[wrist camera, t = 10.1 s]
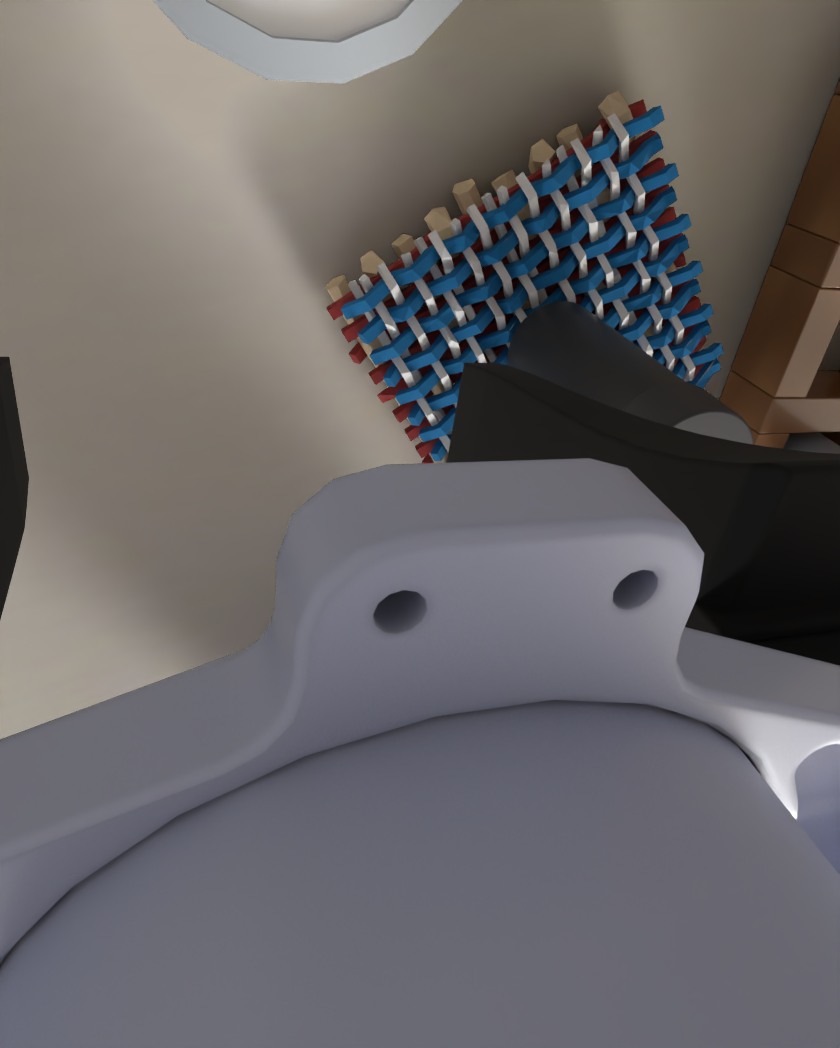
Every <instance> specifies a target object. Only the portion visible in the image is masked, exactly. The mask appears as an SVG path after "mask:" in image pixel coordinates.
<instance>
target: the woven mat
mask: <svg viewBox="0 0 840 1048" xmlns="http://www.w3.org/2000/svg"><path fill="white" fill-rule="evenodd" d="M598 108H599V110H600V112H601V113H602V115H603V117H604V118H603V119H601V120H600V122H599V123H598V124H597V126H596V127H595V128H594V130H593V131H592V132H591V134H589V135H588V136H587V137H585V138H584V139H583V136H582V134H581V131H580V129H579V126H578V124H575V125H572V126H570V127H567V128H565V129H562V130H561V132H560V133H559V134H558V135H557V136H556V137H557V139H558V142H559V144H560V147H559V148H558V149H556V152H557V155H558V157H557V158H555V151H554V150H553V149H552V148H551V147H550V146H549V145H548V144H547V143H546V142H545V141H544V140H543V139H541V140H540V141H539V142H537V143H536V144H535V145H533V146H532V147H531V152H530V160H529V170H530V173H531V175H530V176H529V177H526V175H525V174H524V172H522V173H521V174H519V175H518V176H517V177H516V175H515V174H514V172H513V170H510V171H508V172H506V173H504V174H503V175H501V176H499V177H498V178H497V179H495V180H494V181H493V182H492V183H491V184H492V186H493V188H494V190H495V191H496V193H497V195H498V196H496V197H494V198H492V195H491V193H486V194H485V195H483V196H482V197H481V196H480V194H479V192H478V190H477V187H476V185H475V183H474V181H473V179H470V180H467V181H463V182H460V183H457V184H455V185H454V189H453V195H454V197H455V199H456V201H457V203H458V206H459V208H460V210H461V212H462V214H463V216H460V217H458V218H454V219H452V220H451V218H450V216H449V214H448V212H447V210H446V208H445V207H440V208H433V209H432V210H431V211H430V213H429V214H428V215H427V216H426V217H425V218H424V219H425V221H426V223H427V225H428V227H429V228H430V231H429V232H428V233H427V234H426V235H425V236H424V237H422V236H421V237H419V238H418V239H416V240H414V239H413V237H412V236H410V235H406V234H402V235H401V236H400V237H399V238H397V239H396V240H395V241H394V242H393V243H392V244H391V245H392V247H393V249H394V251H395V253H396V254H397V256H398V258H399V260H397V261H396V262H394V263H393V264H391V265H390V266H388V267H387V266H386V265H385V263H384V262H383V261H382V260H381V259H380V258H379V257H378V256H377V255H376V254H375V253H374V252H373V251H372V250H371V251H369V252H368V253H367V254H365V255H364V256H363V257H361V265H362V272H363V275H362V276H361V277H360V279H359V281H360V283H361V285H358V284H357V282H356V280H353V281H351V282H348V280H347V279H346V277H345V275H341V276H339V277H336V278H333V279H332V280H331V281H330V282H329V283H328V284H327V285H326V286H325V287H326V289H327V291H328V292H329V294H330V296H331V297H332V299H333V301H334V303H332V304H331V305H329V306H328V307H327V310H328V312H329V313H330V315H331V316H332V318H333V320H335V319H337V318H338V317H340V316H341V315H343V317H344V319H345V320H346V322H347V324H348V325H347V326H346V327H344V328H343V329H341V331H342V333H343V335H344V336H345V338H346V339H347V341H348V342H351V341H352V340H354V339H355V338H357V340H358V341H359V342H358V343H357V344H356V346H355V347H354V348H353V349H352V350H351V352H350V353H349V355H350V357H351V359H352V360H353V362H354V363H359V364H360V363H361V362H362V361H363V360H364V359H365V358H366V356H367V355H368V357H369V358H370V360H371V361H372V363H373V365H374V366H375V369H374V370H372V371H371V372H369V375H370V377H371V378H372V380H373V381H374V383H375V384H378V383H379V382H381V381H382V380H383V381H384V382H385V384H386V385H387V387H388V388H386V389H385V390H384V391H382V392H381V393H379V394H378V395H377V396H378V397H379V399H380V400H381V401H382V403H384V402H386V401H388V400H391V399H393V398H395V400H396V401H397V403H398V405H399V407H397V408H396V409H395V410H393V411H392V412H393V414H394V415H395V417H396V419H397V420H398V421H399V422H402V421H403V420H404V419H406V418H407V419H408V421H409V422H410V424H411V425H410V426H409V427H407V428H406V429H404V430H405V432H406V434H407V435H408V437H409V439H410V440H411V441H412V440H413V439H415V438H416V437H419V438H420V440H421V441H422V442H421V443H419V444H418V445H416V446H415V447H416V450H417V451H418V453H419V455H420V456H421V458H423V457H424V456H426V457H425V458H424V460H423V461H422V463H447V458H448V452H449V446H450V441H451V435H452V429H453V423H454V418H455V412H456V406H457V400H458V395H459V389H460V383H461V377H462V372H463V366H464V363H498V364H504V365H508V350H509V345H510V342H511V339H512V337H513V335H514V333H515V331H516V329H517V328H518V326H519V325H520V324H521V322H522V321H523V320H524V319H525V318H526V317H527V316H528V315H529V314H531V313H532V312H533V311H535V310H536V309H538V308H540V307H542V306H544V305H546V304H549V303H553V302H559V301H568V302H574V303H577V304H579V305H581V306H583V307H584V308H586V309H587V310H589V311H590V312H591V313H593V314H594V315H595V316H597V317H598V318H600V319H601V320H602V321H604V322H605V323H606V324H608V325H609V326H610V327H612V328H613V329H615V330H616V331H617V332H619V333H620V334H621V335H623V336H624V337H625V338H627V339H628V340H630V341H631V342H632V343H634V344H635V345H636V346H638V347H639V348H640V349H642V350H643V351H645V352H646V353H647V354H649V355H650V356H651V357H653V358H654V359H655V360H657V361H658V362H660V363H661V364H662V365H664V366H665V367H666V368H668V369H669V370H670V371H672V372H673V373H675V374H676V375H677V376H679V377H680V378H681V379H683V380H684V381H685V382H687V383H690V384H694V385H696V386H699V387H701V388H702V389H703V388H704V386H705V385H706V383H707V382H708V380H709V379H710V378H711V376H712V375H713V374H714V373H716V372H717V371H719V370H720V369H721V367H720V363H719V361H718V359H717V357H719V356H720V355H721V354H722V353H724V352H723V349H722V345H721V344H720V343H714V344H712V345H711V346H710V347H709V348H707V349H704V350H701V351H698V350H700V349H701V348H702V346H703V345H704V343H705V341H706V335H708V334H709V333H711V329H710V325H709V323H708V321H707V319H708V318H709V317H710V316H712V315H713V314H714V313H713V309H712V306H711V304H703V305H702V306H701V303H700V300H699V298H698V297H696V296H694V295H695V294H697V293H699V292H701V290H700V286H699V283H698V281H697V279H694V278H695V277H696V276H698V275H699V274H700V273H702V272H703V269H702V266H701V262H700V261H692V262H691V263H690V264H689V265H687V266H686V267H683V268H681V269H677V268H676V267H680V266H684V265H686V263H685V258H684V254H683V252H684V251H685V250H687V249H688V248H689V244H688V240H687V238H686V236H685V234H684V235H683V233H682V232H683V231H685V230H686V229H687V228H689V227H690V226H691V222H690V219H689V215H688V214H681V215H680V216H678V217H677V218H676V214H675V211H674V207H668V206H669V205H671V204H672V203H674V202H675V201H677V198H676V194H675V191H674V189H673V187H672V186H671V187H669V185H668V183H669V182H671V181H672V180H673V179H675V178H676V177H678V176H679V174H678V171H677V168H676V164H675V163H673V164H668V165H666V166H665V163H664V160H663V159H662V158H657V159H655V160H653V161H652V162H650V163H648V164H646V162H647V161H648V160H649V159H650V158H651V157H652V156H653V155H654V154H655V153H657V152H658V151H660V150H661V149H663V144H662V140H661V137H660V136H659V134H658V133H657V132H655V131H651V130H650V131H648V132H647V133H645V134H644V135H642V136H640V137H639V138H637V139H636V140H634V139H635V135H637V134H640V133H642V132H644V131H646V130H648V129H651V128H653V127H655V126H656V125H657V124H659V123H660V122H662V121H663V120H664V116H663V112H662V109H661V106H658V107H653V108H652V109H650V110H649V111H648V112H647V111H646V107H645V104H644V100H641V101H638V102H636V103H633V104H631V105H629V106H628V105H627V104H626V102H625V100H624V99H623V97H622V95H621V94H620V92H619V91H617V92H615V93H612V94H609V95H608V96H607V97H606V98H605V99H604V100H603V101H602V103H601V104H600V105H599V106H598ZM554 158H555V159H554ZM598 161H600V163H598V164H597V165H595V166H594V164H593V163H595V162H598ZM645 164H646V165H645ZM566 182H567V184H565V183H566ZM651 190H652V191H651ZM649 191H650V192H649ZM647 192H649V193H647ZM646 193H647V194H646ZM537 197H539V198H537ZM481 198H482V199H481ZM667 207H668V208H667ZM666 208H667V209H666ZM494 228H495V229H494ZM625 234H626V235H625ZM474 242H475V243H474ZM473 243H474V244H473ZM472 244H473V245H472ZM517 244H518V247H517V248H515V249H514V247H515V246H516V245H517ZM557 249H559V250H557ZM548 254H549V256H548ZM440 258H441V259H442V263H443V265H441V266H440V267H438V266H437V264H436V262H437V261H438V260H439V259H440ZM484 266H486V267H485V268H484V269H482V268H481V267H484ZM411 282H412V285H410V286H408V287H407V288H405V289H404V290H402V291H401V290H400V288H399V286H402V285H405V284H408V283H411ZM605 285H606V288H605ZM649 286H650V288H649ZM692 296H693V297H692ZM539 304H540V305H539ZM422 305H424V307H423V308H421V309H420V307H421V306H422ZM419 309H420V310H419ZM696 309H697V310H696ZM506 325H507V326H506ZM661 330H662V331H661ZM390 340H393V341H392V342H391V341H390ZM697 351H698V352H697ZM673 368H674V369H673ZM456 381H457V382H456ZM452 382H456V383H455V385H454V386H453V384H452ZM433 394H434V396H432V395H433Z"/></svg>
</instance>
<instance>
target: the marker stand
mask: <svg viewBox="0 0 840 1048" xmlns="http://www.w3.org/2000/svg"><path fill="white" fill-rule="evenodd" d="M836 94H837V95H834V96H833V98H832V101H831V103H830V106H829V109H828V111H827V114H826V117H825V119H824V122H823V125H822V127H821V130H820V133H819V135H818V138H817V141H816V143H815V146H814V149H813V151H812V154H811V157H810V159H809V162H808V165H807V168H806V170H805V173H804V176H803V178H802V181H801V184H800V186H799V189H798V192H797V194H796V197H795V200H794V202H793V205H792V208H791V210H790V213H789V216H788V218H787V221H786V223H788V224H787V225H786V226H785V228H784V230H783V233H782V236H781V238H780V241H779V244H778V246H777V249H776V252H775V254H774V257H773V260H772V262H771V265H772V266H770V267H769V269H768V271H767V274H766V277H765V279H764V282H763V285H762V288H761V290H760V293H759V296H758V298H757V301H756V304H755V306H754V309H753V312H752V314H751V317H750V320H749V322H748V325H747V328H746V330H745V333H744V336H743V338H742V341H741V344H740V346H739V349H738V352H737V354H736V357H735V360H734V362H733V365H732V368H731V369H732V370H731V371H730V374H729V376H728V379H727V382H726V384H725V387H724V390H723V393H722V395H721V398H720V401H721V402H722V403H723V404H725V405H726V406H727V407H729V408H730V409H732V410H733V411H734V412H736V413H737V414H738V415H740V416H741V417H742V418H743V419H744V420H745V421H746V423H747V424H748V426H749V428H750V430H751V433H752V437H753V445H760V446H766V447H773V448H781V449H783V448H784V446H785V443H786V441H787V439H788V437H789V433H803V432H819V433H821V434H822V435H824V436H825V437H827V438H828V439H830V440H831V441H833V442H834V443H836V444H837V445H839V446H840V371H818V368H819V366H820V364H821V361H822V359H823V357H824V355H825V352H826V350H827V348H828V345H829V343H830V341H831V339H832V336H833V334H834V332H835V330H836V327H837V325H838V323H839V320H840V81H839V83H838V86H837V89H836Z"/></svg>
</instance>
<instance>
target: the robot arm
mask: <svg viewBox="0 0 840 1048" xmlns="http://www.w3.org/2000/svg"><path fill="white" fill-rule="evenodd" d="M28 482H29V476H28V469H27V463H26V457H25V451H24V445H23V439H22V433H21V427H20V421H19V414H18V408H17V402H16V396H15V390H14V384H13V378H12V372H11V366H10V359H9V357H0V619H1V615H2V612H3V608H4V604H5V600H6V597H7V593H8V589H9V586H10V582H11V578H12V574H13V571H14V567H15V563H16V559H17V556H18V552H19V548H20V544H21V540H22V536H23V532H24V528H25V518H26V508H27V496H28ZM0 1048H840V454H834V453H817V452H806V451H798V450H790V449H781V448H773V447H766V446H760V445H753V444H747V443H741V442H736V441H731V440H726V439H721V438H716V437H711V436H706V435H702V434H698V433H694V432H690V431H686V430H682V429H679V428H675V427H672V426H668V425H665V424H661V423H658V422H654V421H651V420H648V419H645V418H642V417H639V416H636V415H633V414H630V413H627V412H625V411H622V410H619V409H617V408H614V407H611V406H609V405H606V404H603V403H601V402H598V401H596V400H593V399H591V398H588V397H586V396H584V395H581V394H579V393H576V392H574V391H572V390H569V389H567V388H565V387H562V386H560V385H557V384H555V383H553V382H550V381H548V380H546V379H543V378H541V377H538V376H536V375H533V374H531V373H528V372H526V371H523V370H520V369H517V368H514V367H511V366H508V365H504V364H498V363H464V366H463V372H462V377H461V383H460V389H459V395H458V400H457V406H456V412H455V418H454V423H453V429H452V435H451V441H450V446H449V452H448V458H447V463H423V464H391V465H383V466H380V467H376V468H372V469H368V470H365V471H361V472H357V473H353V474H350V475H346V476H342V477H338V478H335V479H333V480H332V481H330V482H329V483H328V484H327V485H326V486H325V487H323V488H322V489H321V490H320V491H319V492H318V493H316V494H315V495H314V496H313V497H312V498H311V499H309V500H308V501H307V502H306V503H305V504H303V505H302V506H301V507H300V508H299V509H298V510H296V511H295V512H294V513H293V514H292V517H291V520H290V523H289V525H288V528H287V531H286V534H285V536H284V539H283V542H282V544H281V547H280V550H279V553H278V555H277V565H276V589H275V605H274V610H273V614H272V619H271V623H270V625H269V627H268V628H267V630H266V632H265V634H264V635H263V636H262V637H261V638H260V639H259V640H257V641H256V642H255V643H254V644H252V645H251V646H250V647H248V648H247V649H244V650H241V651H239V652H236V653H233V654H230V655H228V656H225V657H222V658H220V659H217V660H214V661H212V662H209V663H206V664H203V665H201V666H198V667H195V668H193V669H190V670H187V671H184V672H182V673H179V674H176V675H174V676H171V677H168V678H165V679H163V680H160V681H157V682H155V683H152V684H149V685H147V686H144V687H141V688H138V689H136V690H133V691H130V692H128V693H125V694H122V695H119V696H117V697H114V698H111V699H109V700H106V701H103V702H100V703H98V704H95V705H92V706H90V707H87V708H84V709H82V710H79V711H76V712H73V713H71V714H68V715H65V716H63V717H60V718H57V719H54V720H52V721H49V722H46V723H44V724H41V725H38V726H35V727H33V728H30V729H27V730H25V731H22V732H19V733H17V734H14V735H11V736H8V737H6V738H3V739H0Z"/></svg>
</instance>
